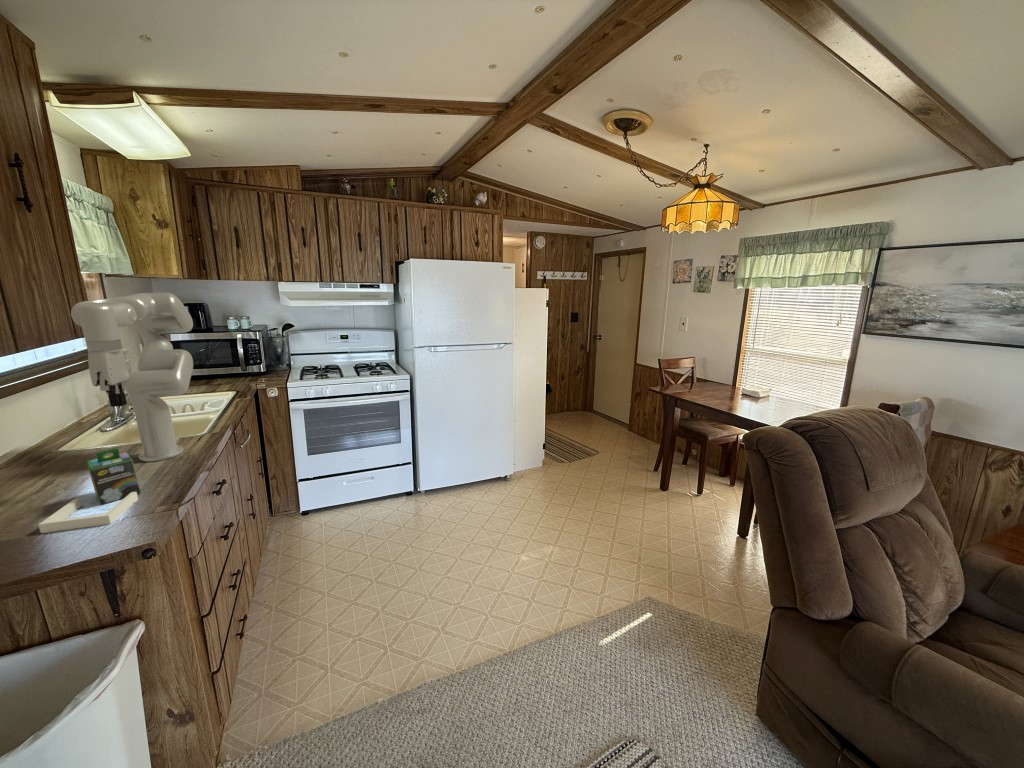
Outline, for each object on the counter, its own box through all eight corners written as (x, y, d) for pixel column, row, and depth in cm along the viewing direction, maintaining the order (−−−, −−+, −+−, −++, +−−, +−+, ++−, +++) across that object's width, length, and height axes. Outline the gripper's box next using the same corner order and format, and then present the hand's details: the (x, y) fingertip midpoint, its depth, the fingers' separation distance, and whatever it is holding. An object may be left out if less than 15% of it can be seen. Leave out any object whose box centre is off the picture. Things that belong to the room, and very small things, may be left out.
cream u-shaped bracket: (76, 506, 117) (74, 498, 116) (138, 499, 121) (136, 491, 120) (41, 533, 105) (38, 524, 104) (110, 523, 109) (108, 515, 108)
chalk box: (135, 484, 130) (124, 440, 126) (142, 493, 124) (130, 448, 121) (94, 495, 123) (82, 449, 119) (99, 506, 117) (86, 458, 114)
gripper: (105, 343, 128) (118, 399, 133) (71, 351, 114) (87, 414, 119) (134, 342, 130) (146, 398, 135) (104, 349, 116) (119, 411, 121)
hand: (119, 405), depth 127 cm, fingers closed
